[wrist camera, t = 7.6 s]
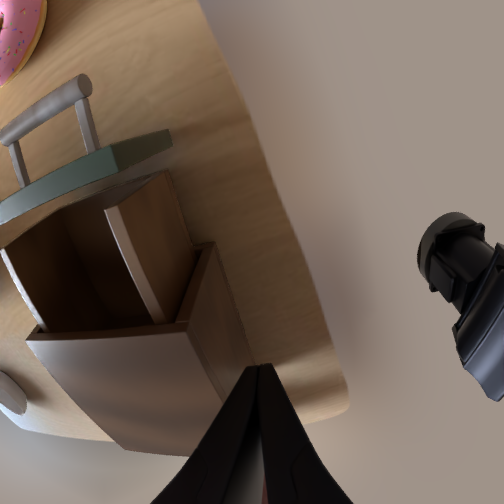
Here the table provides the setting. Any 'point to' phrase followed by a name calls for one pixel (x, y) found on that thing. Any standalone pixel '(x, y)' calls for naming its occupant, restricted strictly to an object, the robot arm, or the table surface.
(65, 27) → the table surface
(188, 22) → the table surface
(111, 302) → the drawer
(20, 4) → the doughnut
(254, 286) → the table surface
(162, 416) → the cabinet
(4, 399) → the saucepan
